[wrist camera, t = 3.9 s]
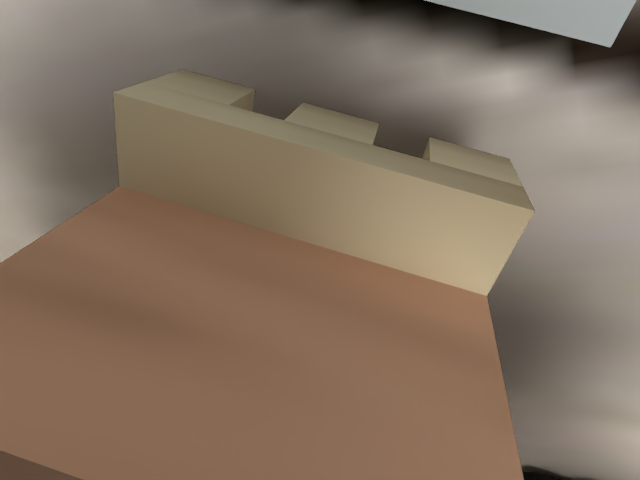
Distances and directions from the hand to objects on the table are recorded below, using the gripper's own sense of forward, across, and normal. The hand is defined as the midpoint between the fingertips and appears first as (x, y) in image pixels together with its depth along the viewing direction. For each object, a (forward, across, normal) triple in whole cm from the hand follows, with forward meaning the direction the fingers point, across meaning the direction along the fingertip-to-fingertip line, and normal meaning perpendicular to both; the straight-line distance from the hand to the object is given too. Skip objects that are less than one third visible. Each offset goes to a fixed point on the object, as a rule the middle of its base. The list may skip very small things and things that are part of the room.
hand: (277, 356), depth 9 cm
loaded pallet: (+1, 0, 0) cm, 1 cm away
